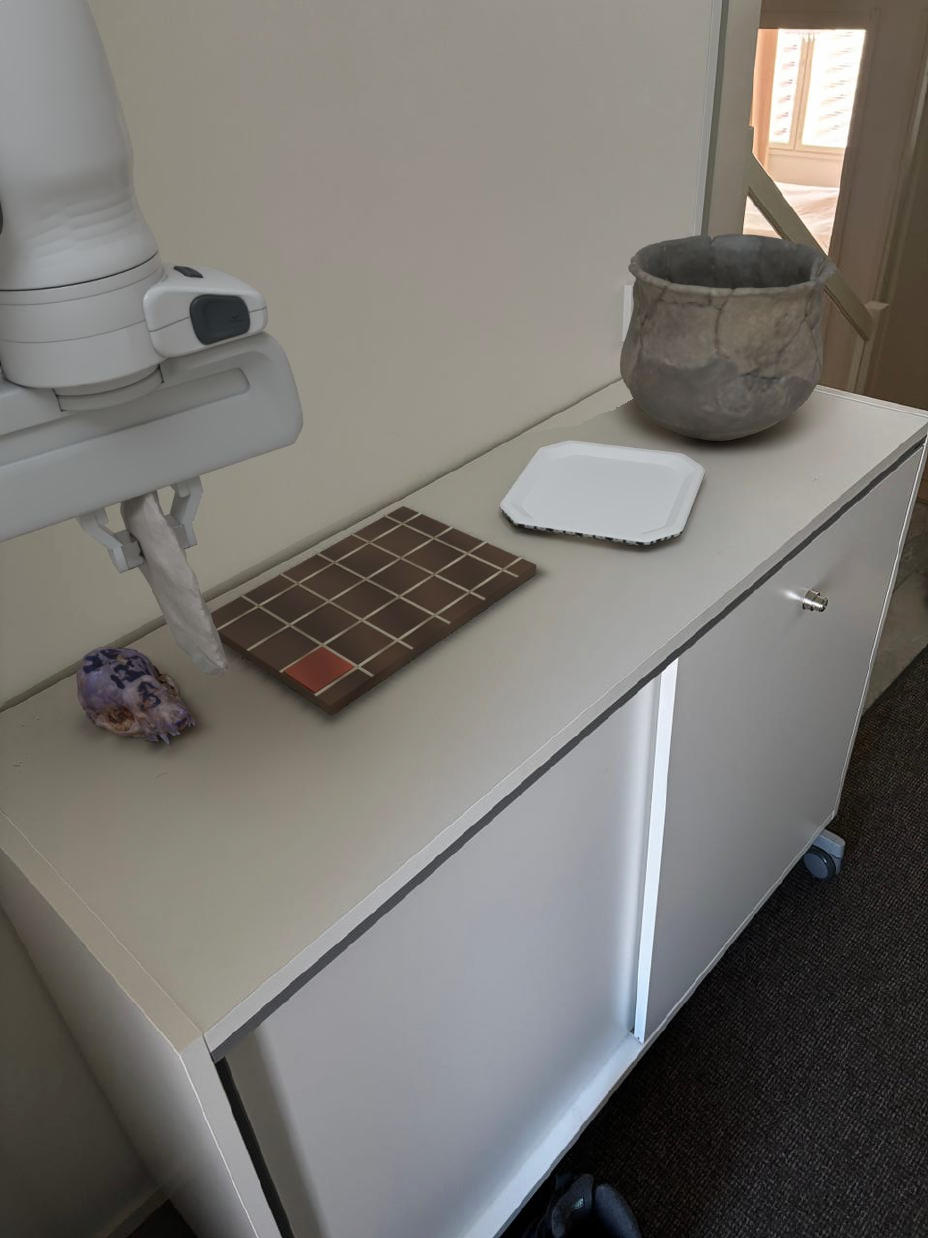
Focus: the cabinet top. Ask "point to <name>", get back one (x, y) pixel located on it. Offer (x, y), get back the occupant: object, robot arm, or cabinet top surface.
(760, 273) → the pot
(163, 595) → the stone tool
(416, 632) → the board
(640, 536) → the plate
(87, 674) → the skull
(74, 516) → the robot arm
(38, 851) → the cabinet top surface
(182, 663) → the cabinet top surface
